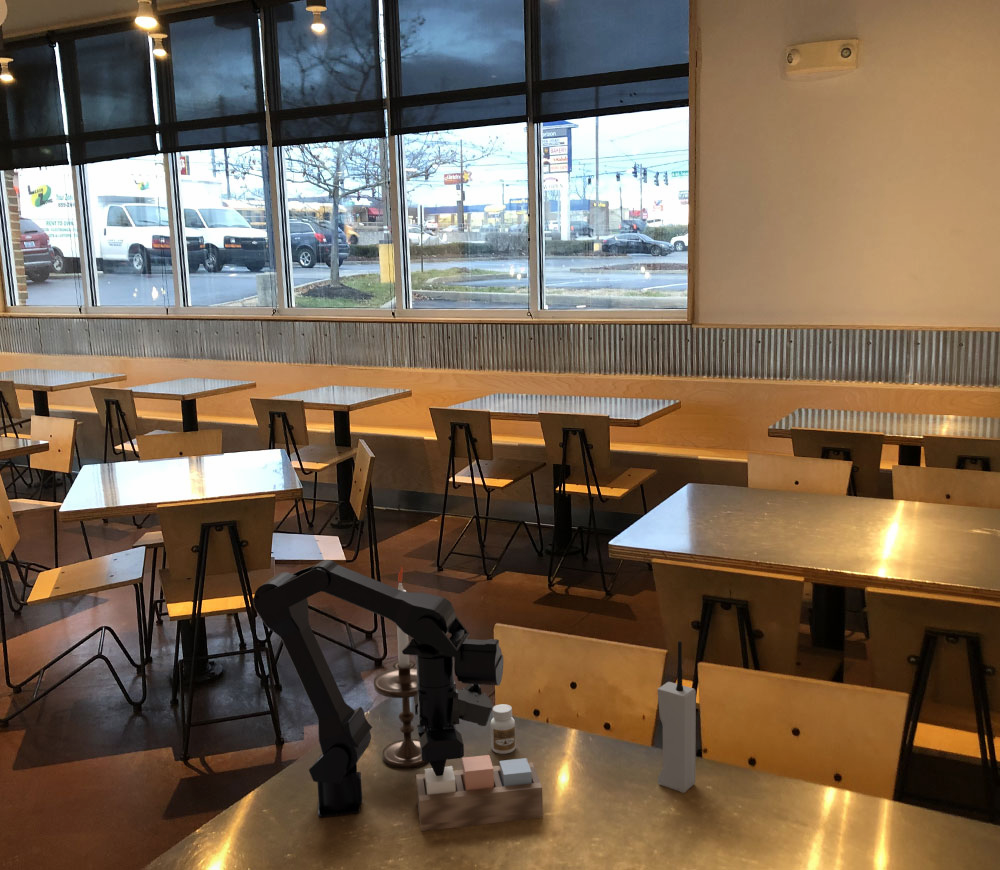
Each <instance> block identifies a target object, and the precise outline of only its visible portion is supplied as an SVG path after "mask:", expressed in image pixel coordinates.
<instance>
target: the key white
mask: <svg viewBox="0 0 1000 870" xmlns="http://www.w3.org/2000/svg"><path fill="white" fill-rule="evenodd" d="M453 771H454V768H453V765H449V766H445V769H444V773H443V775H441V776H436V774H435V772H434V770H433V768H432V767H431V768H429V767H428V768H424V774H425V788H426V795H431V794H440V793H449V792H456V786H455V776H454V772H453Z"/></svg>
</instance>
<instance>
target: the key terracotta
mask: <svg viewBox="0 0 1000 870" xmlns="http://www.w3.org/2000/svg"><path fill="white" fill-rule="evenodd" d="M493 766H494V765H493V763H492V759H491V756H490V755H489V754H485V755H477V756H476V755H475V756H467V757H462V758H461V767H462V769H461V770H462V772H463V784H464V788H465V791H467V790H476V789H485V788H494V772H493Z"/></svg>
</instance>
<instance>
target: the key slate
mask: <svg viewBox="0 0 1000 870" xmlns="http://www.w3.org/2000/svg"><path fill="white" fill-rule="evenodd" d="M528 763H529V761H528V758H527V757H525V758H524V757H522V758H513V759H506V760H505V759H504V760H499V766H500V780H501V783H502V787H504V786H513V785H522V784H531V783H532V772H531V769H530V766H529V764H528Z"/></svg>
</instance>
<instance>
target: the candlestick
mask: <svg viewBox="0 0 1000 870" xmlns="http://www.w3.org/2000/svg"><path fill="white" fill-rule="evenodd" d="M404 572H405V571H404V570H403V566H400V571H399V573H398V576H397V581H398V587H397V589H398V590H401V591H405V592H407V590H406V589H404V586H403V583H402V581H403V577H404V575H403V573H404ZM396 632H397V633H396V635H397V637H396V638H397V654H398V657H397V659H398V661H396V662H394V663H393V664H392V667H393V668H391V669H387V670H384V671H382V672H380V673H378V674H377V675H376V676H375V677H374V679H373V689H374V691H375V692H376V693H377V694H379V695H381V696H384V697H388V698H392V699H393V698H394V699H401V704H402V705H401V708H402V711H401V712H400V713H399V714H398V719H399V721H400V723H402V726H400V728H399V729H400V732H401V733H402V734H403V739H400V740H397V741H394V742H391V743H389V744H387V745H385V747H384V749H383V750H382V760H383V762H384V764H386V765H387V766H389V767H391V768H394V769H395V768H396V769H404V770H405V769H406V770H407V769H414V768H418V767H423V766H425V765H426V764H428V763H429V762H425V761H423V760H422V757H421V748H420V742H419V738H412V732H414V730H415V727H414V726H413V725H412V722H413V721H414V719H415V712H413V711H411V704H410V702H411V701H410V700H411V699H410V698H414V697H415V696H416V694H417V685H416V682H417V666H416V662H415V661H411V660H410V655H405V654H403V653H402V651H403V649H404V648H405V647H406V645H407V644H408V643H409V635H407V634H405V633H404V632H403V631H402V630H401V629H400V628H399V627H398V626H397V625H396Z"/></svg>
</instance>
